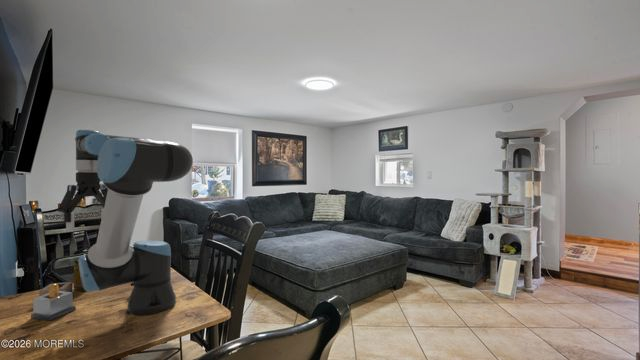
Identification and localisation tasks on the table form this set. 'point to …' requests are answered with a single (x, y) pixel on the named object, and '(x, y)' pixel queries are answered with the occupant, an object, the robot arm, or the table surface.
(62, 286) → the link
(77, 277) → the condiment
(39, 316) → the keeper
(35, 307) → the grey hollow block
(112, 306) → the table surface
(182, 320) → the table surface
